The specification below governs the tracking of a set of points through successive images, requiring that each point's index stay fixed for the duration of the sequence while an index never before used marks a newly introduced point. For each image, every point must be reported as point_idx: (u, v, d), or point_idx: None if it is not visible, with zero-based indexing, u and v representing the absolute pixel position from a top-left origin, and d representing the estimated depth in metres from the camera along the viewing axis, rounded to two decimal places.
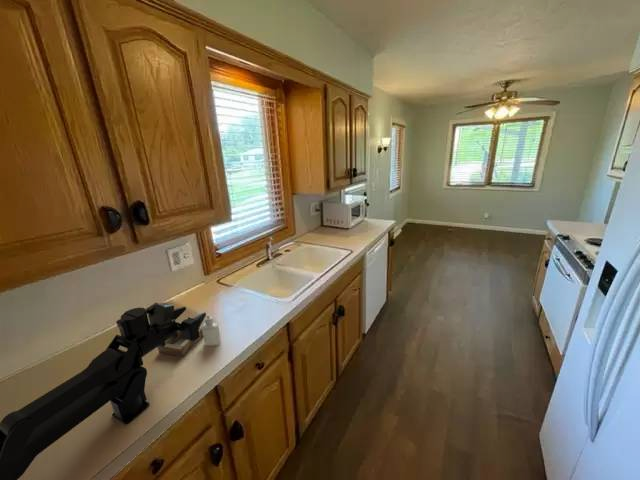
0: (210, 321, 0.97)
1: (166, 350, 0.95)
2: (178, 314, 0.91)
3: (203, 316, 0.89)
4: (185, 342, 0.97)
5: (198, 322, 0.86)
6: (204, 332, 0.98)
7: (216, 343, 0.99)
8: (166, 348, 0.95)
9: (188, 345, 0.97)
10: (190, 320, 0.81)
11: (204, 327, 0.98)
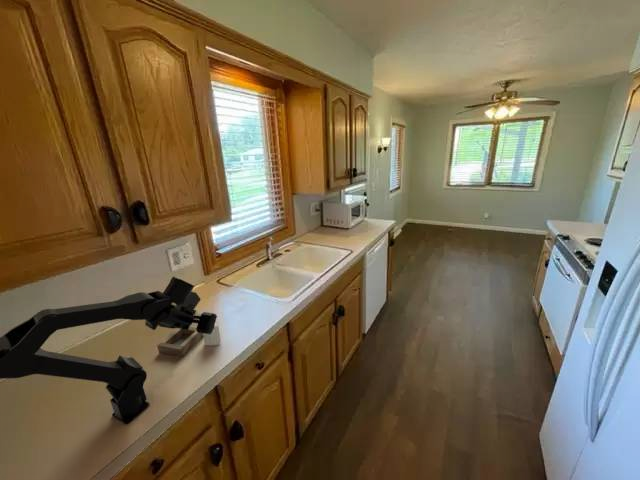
0: None
1: (166, 350, 0.95)
2: None
3: None
4: (185, 342, 0.97)
5: None
6: None
7: (216, 343, 0.99)
8: (166, 348, 0.95)
9: (188, 345, 0.97)
10: None
11: None
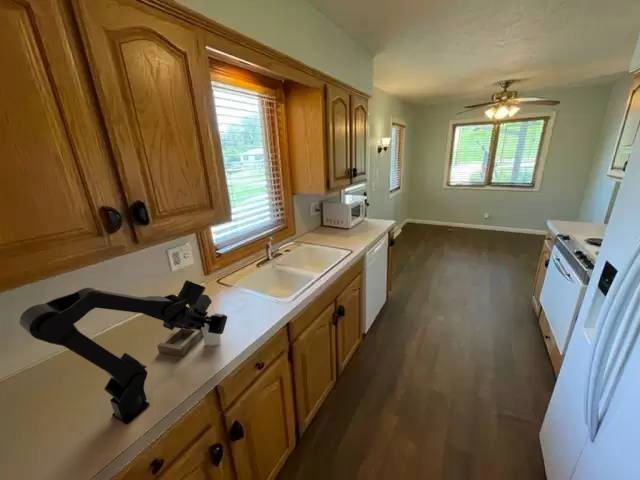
0: None
1: (166, 350, 0.95)
2: None
3: None
4: (185, 342, 0.97)
5: None
6: (204, 332, 0.98)
7: (216, 343, 0.99)
8: (166, 348, 0.95)
9: (188, 345, 0.97)
10: None
11: (204, 327, 0.98)
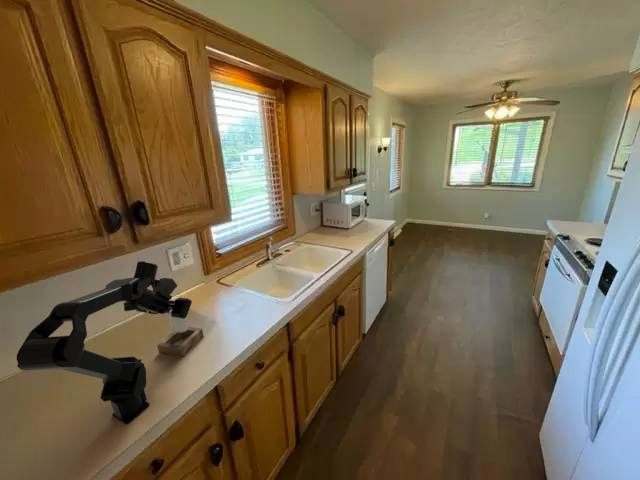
0: None
1: (166, 350, 0.95)
2: (166, 310, 0.96)
3: None
4: (185, 342, 0.97)
5: None
6: (170, 318, 0.96)
7: (182, 330, 0.97)
8: (166, 348, 0.95)
9: (188, 345, 0.97)
10: None
11: (170, 313, 0.95)
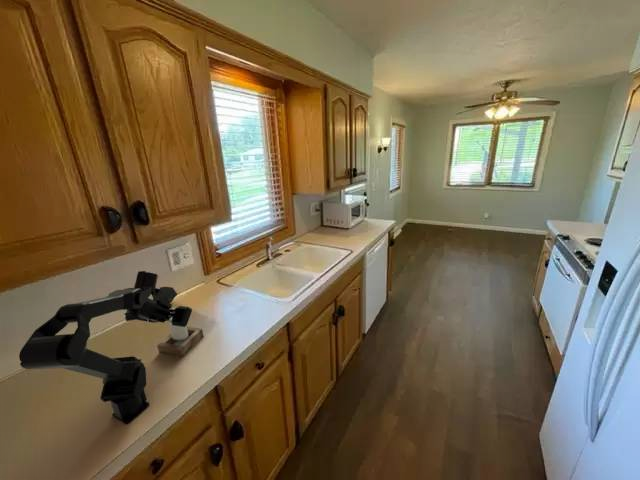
0: None
1: (166, 350, 0.95)
2: None
3: None
4: (185, 342, 0.97)
5: None
6: (170, 326, 0.97)
7: (182, 337, 0.98)
8: (166, 348, 0.95)
9: (188, 345, 0.97)
10: None
11: (170, 321, 0.96)
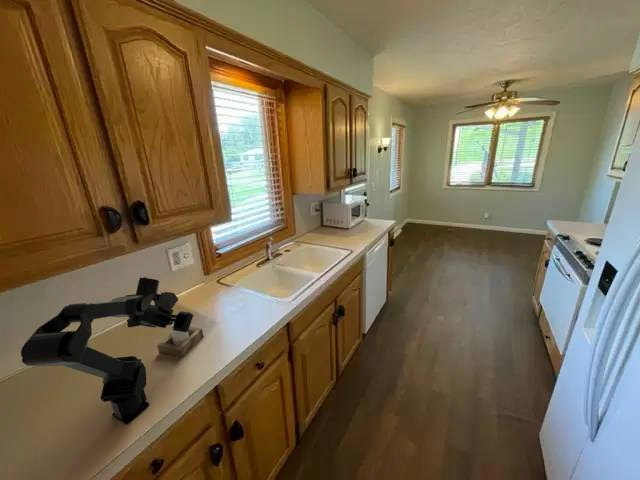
0: None
1: (166, 350, 0.95)
2: None
3: None
4: (185, 342, 0.97)
5: None
6: (172, 332, 0.98)
7: None
8: (166, 348, 0.95)
9: (188, 345, 0.97)
10: None
11: (172, 327, 0.97)
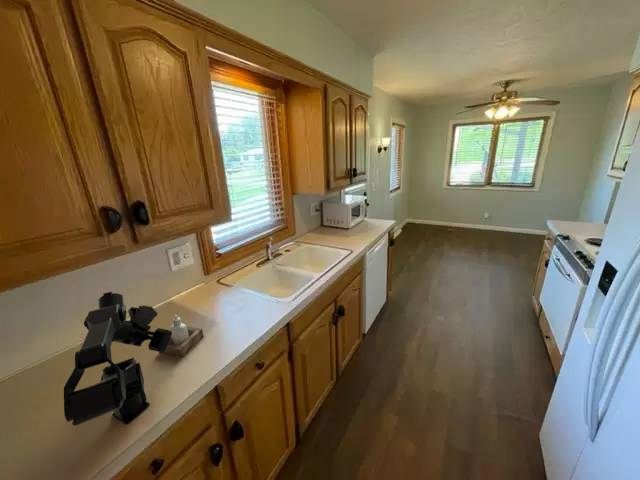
0: (178, 322, 0.97)
1: (166, 350, 0.95)
2: None
3: (170, 342, 0.88)
4: (185, 342, 0.97)
5: None
6: (172, 333, 0.98)
7: None
8: (166, 348, 0.95)
9: (188, 345, 0.97)
10: None
11: (172, 328, 0.97)
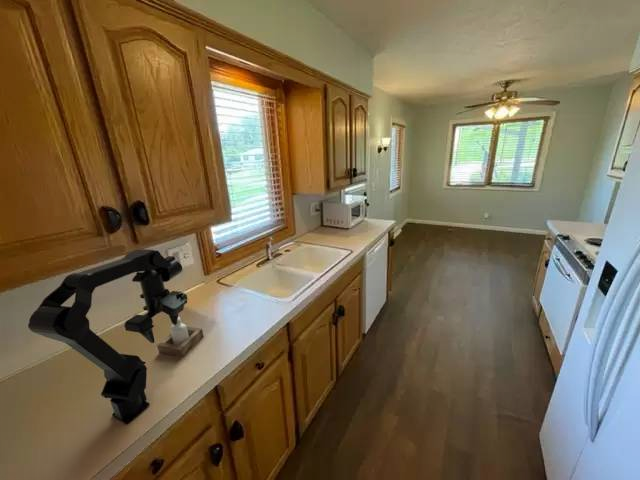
0: (178, 322, 0.97)
1: (166, 350, 0.95)
2: (171, 316, 0.90)
3: (149, 339, 0.81)
4: (185, 342, 0.97)
5: (145, 333, 0.80)
6: (172, 333, 0.98)
7: None
8: (166, 348, 0.95)
9: (188, 345, 0.97)
10: (147, 327, 0.77)
11: (172, 328, 0.97)
